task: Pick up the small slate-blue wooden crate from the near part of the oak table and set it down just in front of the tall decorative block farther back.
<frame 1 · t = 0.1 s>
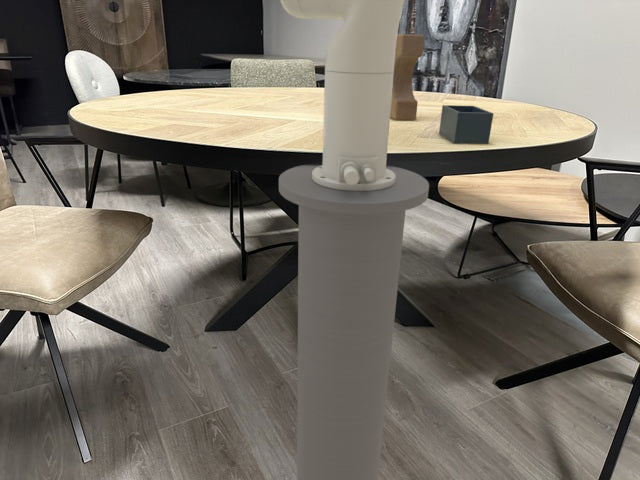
crate: (462, 138, 99), on the table
decorative block: (399, 117, 124), on the table
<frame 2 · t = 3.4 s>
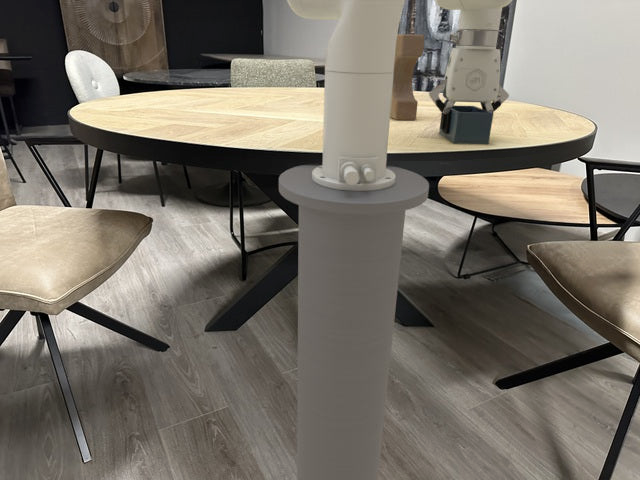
hand: (463, 132, 98), 1 cm above the table, tool pointing down, fingers closed on crate, 7 cm apart
crate: (462, 138, 99), on the table, touching gripper
everything else where it was.
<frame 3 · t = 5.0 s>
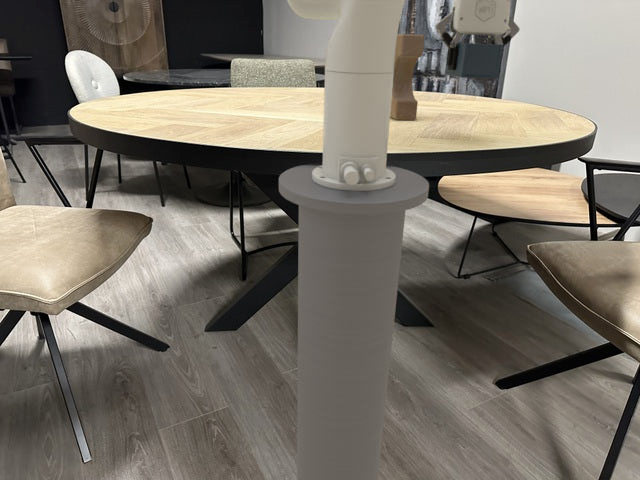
hand: (470, 69, 93), 14 cm above the table, tool pointing down, fingers closed on crate, 7 cm apart
crate: (469, 76, 93), point 12 cm above the table, touching gripper
everything else where it was.
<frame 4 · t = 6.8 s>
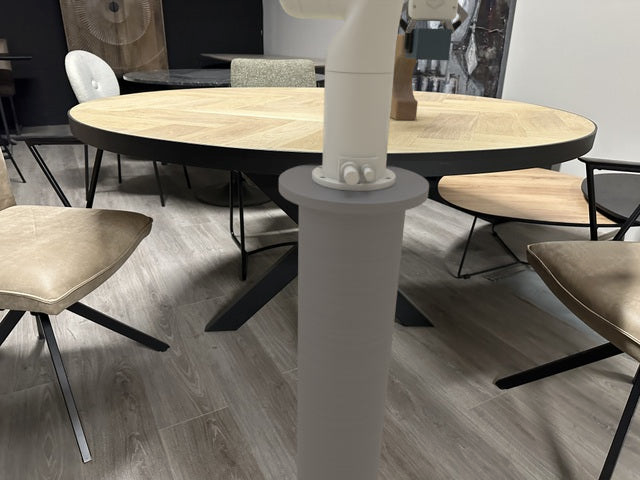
hand: (426, 52, 103), 16 cm above the table, tool pointing down, fingers closed on crate, 7 cm apart
crate: (425, 58, 104), point 15 cm above the table, touching gripper
everything else where it was.
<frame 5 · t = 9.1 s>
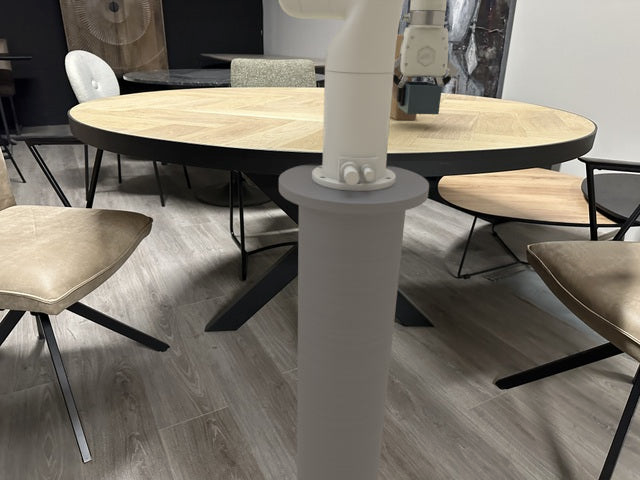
hand: (417, 105, 108), 5 cm above the table, tool pointing down, fingers closed on crate, 7 cm apart
crate: (417, 110, 109), point 4 cm above the table, touching gripper
everything else where it was.
when the fingers open (1 cm above the table, at t = 10.7 s): crate stays where it is, on the table.
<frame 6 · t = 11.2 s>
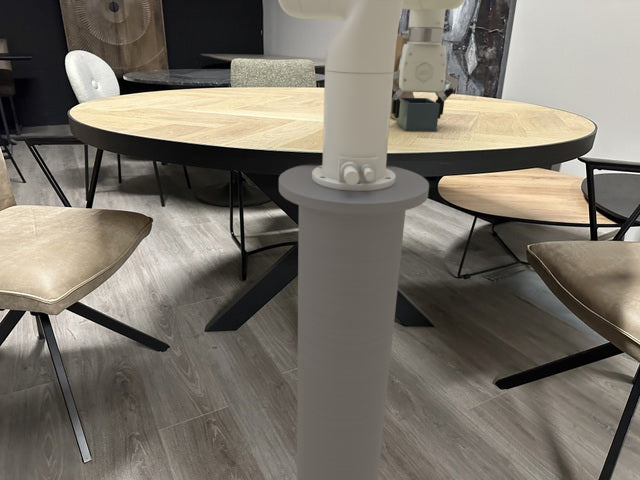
hand: (416, 117, 109), 2 cm above the table, tool pointing down, fingers open, 9 cm apart
crate: (415, 126, 110), on the table
everything else where it was.
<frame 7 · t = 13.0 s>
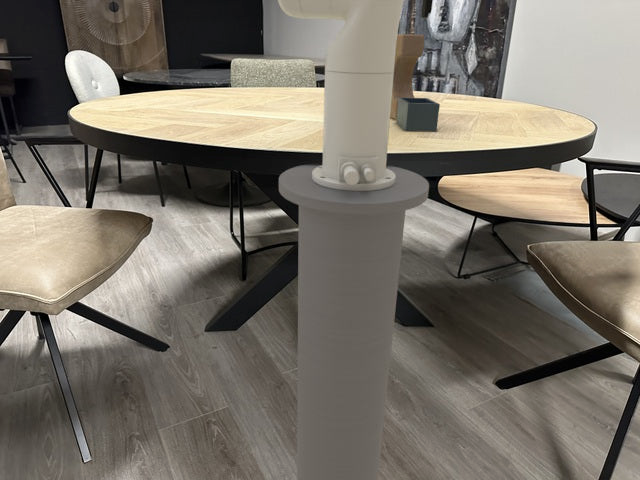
hand: (400, 16, 93), 23 cm above the table, tool pointing down, fingers open, 9 cm apart
nothing on the table moved.
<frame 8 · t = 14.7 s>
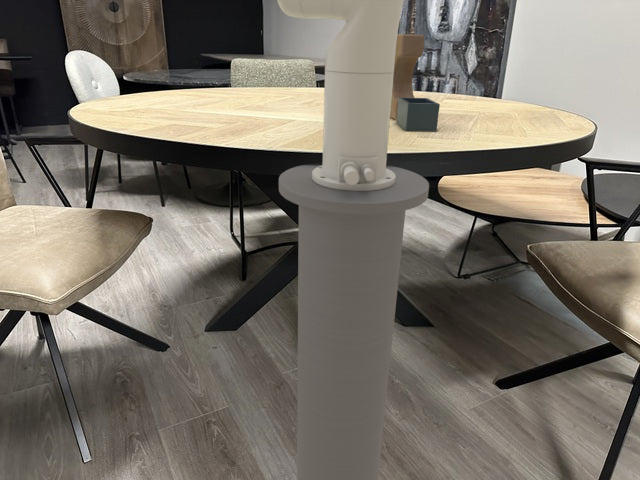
nothing on the table moved.
at the end: crate 14.9 cm from the decorative block (horizontally); crate moved 14.9 cm from its start; crate tilted 0° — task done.
